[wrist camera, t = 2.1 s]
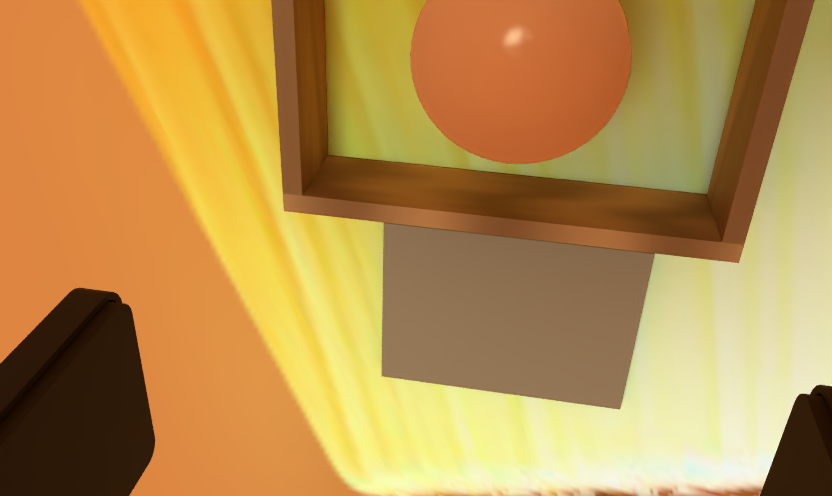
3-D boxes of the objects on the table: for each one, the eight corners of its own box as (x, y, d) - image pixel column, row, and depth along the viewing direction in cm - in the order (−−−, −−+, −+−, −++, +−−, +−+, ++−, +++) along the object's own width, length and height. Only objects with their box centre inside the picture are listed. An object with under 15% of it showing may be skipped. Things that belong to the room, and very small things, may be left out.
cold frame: (838, -226, 26) (890, -225, 21) (722, 213, 34) (743, 276, 30) (295, -246, 28) (245, -249, 24) (311, 169, 36) (276, 222, 32)
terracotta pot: (634, -83, 29) (650, -43, 23) (605, 97, 32) (612, 174, 26) (447, -94, 30) (413, -59, 23) (438, 82, 33) (407, 153, 27)
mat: (653, 247, 35) (654, 254, 35) (619, 401, 40) (620, 409, 39) (386, 216, 37) (383, 223, 36) (383, 368, 41) (381, 376, 41)
